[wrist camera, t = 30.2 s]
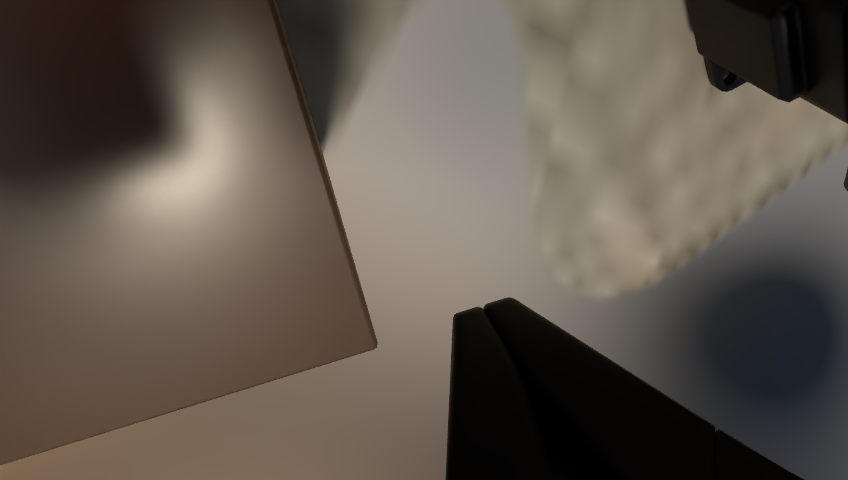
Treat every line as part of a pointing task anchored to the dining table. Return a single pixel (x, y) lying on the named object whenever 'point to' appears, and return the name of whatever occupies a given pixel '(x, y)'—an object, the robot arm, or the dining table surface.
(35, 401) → the cabinet
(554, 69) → the dining table surface
